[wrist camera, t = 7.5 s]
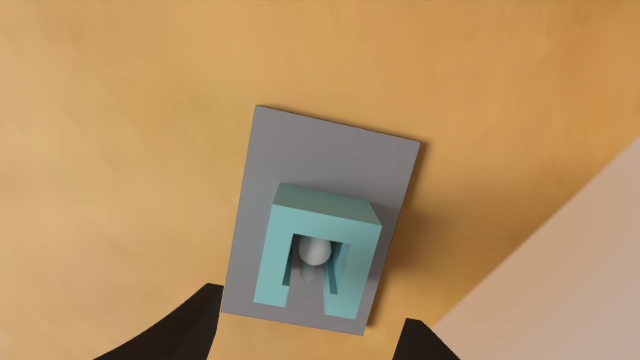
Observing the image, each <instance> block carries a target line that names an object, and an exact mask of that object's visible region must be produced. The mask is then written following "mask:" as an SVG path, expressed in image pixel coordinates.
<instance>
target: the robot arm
mask: <svg viewBox="0 0 640 360" xmlns="http://www.w3.org/2000/svg"><path fill="white" fill-rule="evenodd" d="M223 288H224V286H222V285H217V284H211V283H207V284H205V285H204V286H203V287H202V288H200V289H199V290H198V291H197V292H196V293H195V294H193V295H192V296H191V297H190V298H189V299H187V300H186V301H185V302H184V303H183V304H181V305H180V306H179V307H177V308H176V309H175V310H174V311H172V312H171V313H170V314H168V315H167V316H166V317H164V318H163V319H161V320H160V321H158V322H157V323H156V324H154V325H153V326H151V327H150V328H148V329H147V330H145V331H144V332H142V333H141V334H139V335H138V336H136V337H134V338H133V339H131V340H129V341H128V342H126V343H124V344H122V345H121V346H119V347H117V348H115V349H113V350H111V351H109V352H107V353H105V354H103V355H101V356H99V357H97V358H95V359H93V360H206V359H207V357H208V354H209V351H210V348H211V345H212V342H213V339H214V336H215V334H216V330H217V324H218V318H219V312H220V306H221V300H222V294H223ZM392 360H460V359H459V358H458V357H457V356H456V355H455V354H454V353H453V352H452V351H451V350H450V349H449V348H448V347H447V346H446V345H445V344H444V343H443V342H442V341H441V339H440V338H438V337H437V335H436V334H435V333H434V332H433V331H432V330H431V329H430V328H429V327H428V326H426V325H425V324H424V323H423V322H422V321H421V320H415V319H409V318H406V320H405V323H404V326H403V329H402V332H401V335H400V338H399V341H398V344H397V347H396V350H395V353H394V356H393V359H392Z"/></svg>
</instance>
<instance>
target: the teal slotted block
mask: <svg viewBox="0 0 640 360" xmlns="http://www.w3.org/2000/svg"><path fill="white" fill-rule="evenodd" d="M381 228H382V225H381V223H380V221H379V219H378V218H377V216H376V214H375V212H374V211H373V209H372V207H371V205H370V203H369V202H368V201H366V200H361V199H356V198H351V197H346V196H341V195H337V194H332V193H327V192H322V191H317V190H312V189H307V188H302V187H297V186H292V185H288V184H283V183H280V184H279V187H278V189H277V192H276V195H275V198H274V200H273V203H272V207H271V213H270V218H269V223H268V228H267V233H266V238H265V243H264V249H263V254H262V259H261V264H260V269H259V274H258V280H257V285H256V290H255V295H254V300H253V302H256V303H262V304H267V305H273V306H279V307H285V304H286V299H287V295H288V290H289V285H290V276H291V268H292V259H293V251H291V250H290V245H291V240H292V236H293V233H295V234H300V235H305V236H310V237H315V238H321V239H326V240H331V241H336V246H335V250H334V254H333V258H328V260H327V261H326V262H325V265H324V269H323V273H322V280H323V295H324V311H325V315H331V316H337V317H343V318H349V319H355V318H356V315H357V311H358V308H359V304H360V301H361V297H362V294H363V291H364V287H365V284H366V280H367V277H368V273H369V270H370V266H371V263H372V259H373V256H374V252H375V249H376V245H377V242H378V238H379V235H380V232H381Z"/></svg>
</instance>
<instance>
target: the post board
mask: <svg viewBox="0 0 640 360" xmlns="http://www.w3.org/2000/svg"><path fill="white" fill-rule="evenodd" d="M420 143H421V142H418V141H416V140H412V139H407V138H403V137H398V136H394V135H390V134H385V133H381V132H376V131H372V130H367V129H363V128H358V127H354V126H349V125H345V124H340V123H336V122H331V121H327V120H323V119H318V118H314V117H309V116H305V115H300V114H296V113H291V112H287V111H282V110H278V109H273V108H269V107H264V106H260V105H255V110H254V116H253V122H252V128H251V134H250V140H249V146H248V152H247V158H246V164H245V170H244V176H243V182H242V188H241V194H240V199H239V205H238V211H237V217H236V223H235V229H234V235H233V241H232V247H231V253H230V259H229V265H228V271H227V277H226V283H225V289H224V295H223V301H222V307H221V312H222V313H228V314H234V315H240V316H246V317H252V318H258V319H264V320H270V321H276V322H282V323H288V324H294V325H300V326H305V327H311V328H317V329H323V330H329V331H335V332H341V333H347V334H353V335H359V336H363V334H364V330H365V327H366V324H367V320H368V317H369V314H370V310H371V307H372V304H373V300H374V297H375V294H376V290H377V287H378V284H379V280H380V277H381V274H382V270H383V267H384V264H385V260H386V257H387V254H388V250H389V247H390V244H391V240H392V237H393V234H394V230H395V227H396V224H397V220H398V217H399V214H400V210H401V207H402V204H403V200H404V197H405V194H406V190H407V187H408V184H409V180H410V177H411V173H412V170H413V167H414V163H415V160H416V157H417V153H418V150H419V147H420ZM280 183H283V184H288V185H292V186H297V187H302V188H307V189H312V190H317V191H322V192H327V193H332V194H337V195H341V196H346V197H351V198H356V199H361V200H366V201H368V202H369V203H370V205H371V207H372V209H373V211H374V212H375V214H376V216H377V218H378V219H379V221H380V223H381V225H382V228H381V232H380V235H379V238H378V242H377V245H376V249H375V252H374V256H373V259H372V263H371V266H370V270H369V273H368V277H367V280H366V284H365V287H364V291H363V294H362V297H361V301H360V304H359V308H358V311H357V315H356V318H355V319H349V318H343V317H337V316H331V315H325V311H324V295H323V280H322V273H323V269H324V265H325V262H326V261H327V260H328V258H333V254H334V250H335V246H336V241H331V240H326V239H321V238H315V237H310V236H305V235H300V234H295V233H293V236H292V240H291V245H290V250H291V251H293V259H292V268H291V276H290V285H289V290H288V295H287V299H286V304H285V307H279V306H273V305H267V304H262V303H256V302H253V300H254V295H255V290H256V285H257V280H258V274H259V269H260V264H261V259H262V254H263V249H264V243H265V238H266V233H267V228H268V223H269V218H270V213H271V207H272V203H273V200H274V198H275V195H276V192H277V189H278V187H279V184H280Z"/></svg>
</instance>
